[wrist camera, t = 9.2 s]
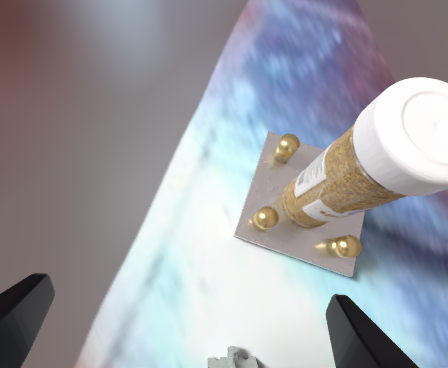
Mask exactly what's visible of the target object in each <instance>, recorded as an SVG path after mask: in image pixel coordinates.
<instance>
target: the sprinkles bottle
mask: <svg viewBox="0 0 448 368" xmlns="http://www.w3.org/2000/svg"><path fill="white" fill-rule="evenodd" d="M446 189H448V83H445V82H443V81H440V80H436V79H430V78H419V77H418V78H410V79H406V80H402V81H400V82H397V83H395V84H393V85H392V86H390V87H389V88H387V89H386V90H385V91H384V92H383V93H382V94H380V95H379V96H378V97H377V98H376V99H375V100H374V101H373V102H372V103H371V104H369V105H368V106H367V107H366V108H365V109H364V110H363V111H362V113H361V114H360V115H359V117H358V119H357V120H356V122H355V123H354V125H353V126H352V127H351V128H350V129H349V130H348V131H347V132H346V133H345V134H343V135H342V136H341V137H340V138H339V139H337V140H336V141H334V142H333V143H332V144H331V145H330V146H329V147H328V148H327V149H326V150H325V151H324V152H323V153H321V154H320V155H319V156H318V157H317V158H316V159H315V160H314V161H313V162H312V163H311V164H310V165H309V166H308V167H307V168H305V169H304V170H303V171H302V172H301V173H300V175H299V176H298V178H295V179H294V180H292V181H291V182H290V183H289V184H288V185H287V187H286V188H285V191H284V194H283V205H284V209H285V212H286V214H287V215H288V216H289V218H290V219H291V220H292V221H294V222H295V223H297V224H298V225H301V226H303V227H308V228H315V227H320V226H322V225H324V224H326V223H327V222H330V221H336V220H339V219H342V218H345V217H348V216H351V215H354V214H357V213H360V212H363V211H366V210H369V209H373V208H376V207H378V206H379V205H382V204H384V203H388V202H391V201H394V200H397V199H399V198H403V197H406V196H424V195H429V194H432V193H436V192H439V191H442V190H446Z"/></svg>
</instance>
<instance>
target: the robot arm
mask: <svg viewBox="0 0 448 368" xmlns="http://www.w3.org/2000/svg"><path fill="white" fill-rule="evenodd" d="M54 296H55V290H54V287H53V284H52V281H51V278H50V276H49V275H48V274H44V273H34V274H32V275H30V276H28V277H27V278H25V279H23V280H22V281H20V282H19V283H17V284H15V285H14V286H12V287H11V288H9V289H7V290H6V291H4V292H3V293H1V294H0V368H21V366H22V364H23V362H24V361H25V359H26V357H27V355H28V353H29V351H30V350H31V347H32V346H33V343H34V341H35V339H36V337H37V335H38V332H39V330H40V328H41V326H42V324H43V321H44V319H45V317H46V315H47V313H48V310H49V308H50V306H51V304H52V302H53V299H54ZM326 320H327V325H328V330H329V335H330V340H331V345H332V350H333V355H334V360H335V365H336V368H419V367H418V366H417V365H416V364H415V363H414V362H413V361H412V360H411V359H410V358H409V357H408V356H407V355H406V354H405V353H404V352H403V351H402V350H401V349H400V348H399V347H398V346H397V345H396V344H395V343H394V342H393V341H392V340H391V339H390V338H389V337H388V336H387V335H386V334H385V333H384V332H383V331H382V330H381V329H380V328H379V327H378V326H377V325H376V324H375V323H374V322H373V321H372V320H371V319H370V318H369V317H368V316H367V315H366V314H365V313H364V312H363V311H362V310H361V309H360V308H359V307H358V306H357V305H356V304H355V303H354V302H353V301H352V300H351V299H350V298H349V297H348V296H346V295H338V294H335V295H333V296H332V298H331V300H330V303H329V305H328V307H327V310H326Z"/></svg>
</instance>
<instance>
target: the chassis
mask: <svg viewBox="0 0 448 368" xmlns="http://www.w3.org/2000/svg"><path fill="white" fill-rule="evenodd" d="M324 151H325V150H323V149H320V148H317V147H314V146H311V145H308V144H305V143H302V142H300V141H299V139H298V138H297V137H296V136H295V135H293V134H285V135H284V136H281V135H278V134H275V133H272V132H269V131H268V134H267V136H266V139H265V142H264V145H263V148H262V151H261V154H260V157H259V160H258V163H257V166H256V169H255V172H254V175H253V178H252V181H251V184H250V187H249V190H248V193H247V196H246V199H245V202H244V205H243V208H242V211H241V214H240V217H239V220H238V223H237V226H236V229H235V232H234V235H233V236H234V237H237V238H240V239H243V240H245V241H248V242H251V243H254V244H257V245H259V246H262V247H265V248H268V249H271V250H273V251H276V252H279V253H282V254H285V255H287V256H290V257H293V258H296V259H299V260H301V261H304V262H307V263H310V264H313V265H315V266H318V267H321V268H324V269H327V270H329V271H332V272H335V273H338V274H341V275H343V276H346V277H353V272H354V267H355V262H356V257H357V256H359V255H360V253H361V251H362V244H361V242H360V235H361V230H362V225H363V219H364V214H365V211H363V212H360V213H357V214H354V215H351V216H348V217H345V218H342V219H339V220H336V221H330V222H327V223H326V224H324V225H322V226H320V227H315V228H308V227H303V226H301V225H298V224H297V223H295V222H294V221H292V220H291V219H290V218H289V216H288V215H287V214H286V212H285V209H284V205H283V194H284V191H285V188H286V187H287V185H288V184H289V183H290V182H291V181H292V180H294V179H295V178H298V176H299V175H300V173H301V172H302V171H303V170H304V169H305V168H307V167H308V166H309V165H310V164H311V163H312V162H313V161H314V160H315V159H316V158H317V157H318V156H319V155H320V154H321V153H323V152H324Z"/></svg>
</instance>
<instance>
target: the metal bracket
mask: <svg viewBox="0 0 448 368" xmlns="http://www.w3.org/2000/svg"><path fill="white" fill-rule="evenodd" d="M237 353H238V348H237V347H234V346H230V347H228V357H221V358H220V360H216V358H208V368H258V365H257V361H256V357H248V359H244V358H243V357H238V354H237Z"/></svg>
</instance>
